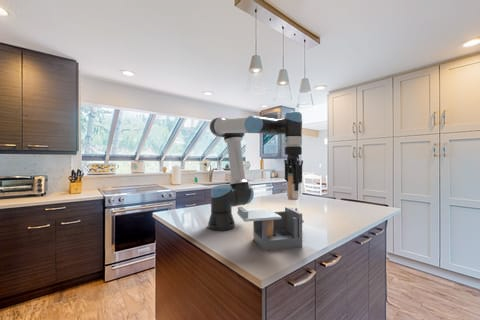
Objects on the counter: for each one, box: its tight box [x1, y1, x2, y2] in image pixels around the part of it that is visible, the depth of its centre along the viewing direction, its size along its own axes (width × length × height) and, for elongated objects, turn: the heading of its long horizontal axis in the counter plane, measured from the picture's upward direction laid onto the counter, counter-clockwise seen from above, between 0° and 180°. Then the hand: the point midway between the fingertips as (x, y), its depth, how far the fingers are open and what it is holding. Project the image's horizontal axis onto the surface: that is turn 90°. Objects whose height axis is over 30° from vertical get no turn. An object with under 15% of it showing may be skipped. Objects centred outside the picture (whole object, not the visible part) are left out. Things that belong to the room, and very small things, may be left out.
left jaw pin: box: [266, 220, 273, 237], centre depth 99 cm, size 4×4×12 cm
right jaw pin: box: [287, 173, 299, 201], centre depth 100 cm, size 4×4×12 cm
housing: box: [252, 206, 303, 252], centre depth 100 cm, size 14×18×14 cm
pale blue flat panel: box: [236, 206, 281, 223], centre depth 98 cm, size 14×16×4 cm
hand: (292, 196), depth 100 cm, fingers closed on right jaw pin, 4 cm apart
